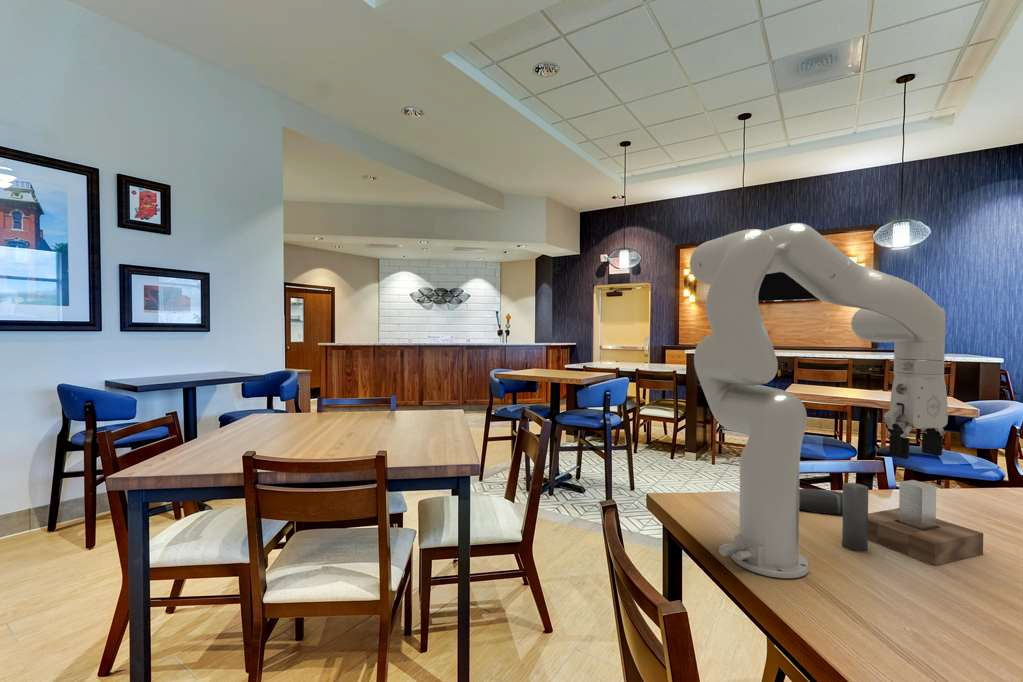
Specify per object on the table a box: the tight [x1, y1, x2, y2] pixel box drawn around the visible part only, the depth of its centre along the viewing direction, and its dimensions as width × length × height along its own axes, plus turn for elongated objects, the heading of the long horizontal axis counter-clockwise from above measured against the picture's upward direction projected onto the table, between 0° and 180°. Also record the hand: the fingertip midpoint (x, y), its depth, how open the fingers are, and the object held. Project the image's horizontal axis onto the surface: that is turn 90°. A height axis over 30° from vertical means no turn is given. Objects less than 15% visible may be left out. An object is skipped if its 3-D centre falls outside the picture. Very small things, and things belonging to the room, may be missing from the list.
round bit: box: [841, 482, 869, 553], centre depth 92 cm, size 4×4×12 cm
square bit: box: [898, 479, 937, 531], centre depth 94 cm, size 4×4×12 cm
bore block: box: [868, 507, 984, 567], centre depth 94 cm, size 14×14×4 cm
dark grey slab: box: [799, 488, 843, 516], centre depth 110 cm, size 5×19×20 cm
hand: (915, 455), depth 94 cm, fingers open, 9 cm apart
